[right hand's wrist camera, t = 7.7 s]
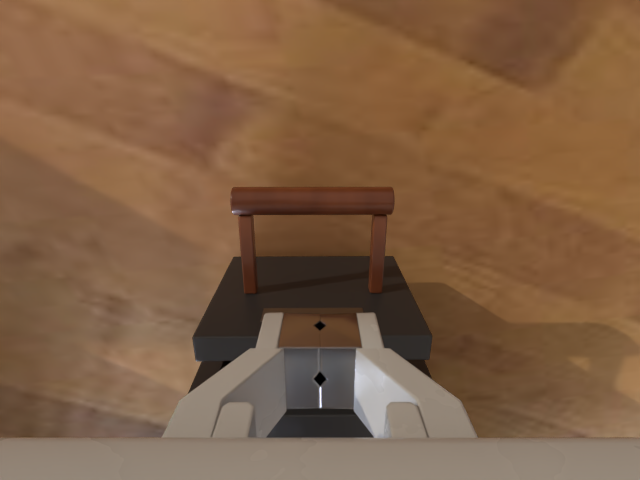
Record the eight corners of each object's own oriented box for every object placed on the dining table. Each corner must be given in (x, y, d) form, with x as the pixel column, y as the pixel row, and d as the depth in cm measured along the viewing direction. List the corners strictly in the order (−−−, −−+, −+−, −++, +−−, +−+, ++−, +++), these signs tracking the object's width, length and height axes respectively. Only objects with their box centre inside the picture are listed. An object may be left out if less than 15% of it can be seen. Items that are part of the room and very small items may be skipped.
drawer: (225, 169, 20) (172, 211, 13) (400, 169, 20) (449, 211, 13) (254, 493, 29) (233, 628, 22) (374, 492, 29) (395, 626, 22)
